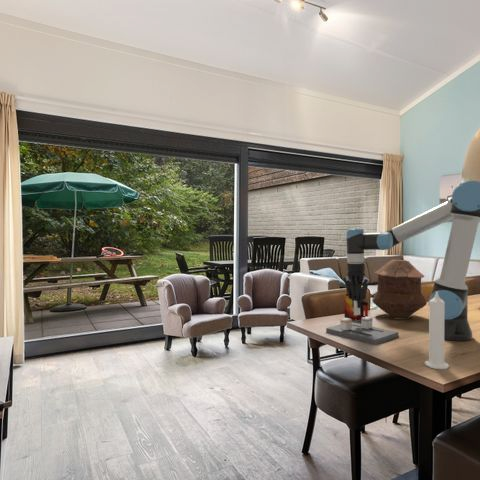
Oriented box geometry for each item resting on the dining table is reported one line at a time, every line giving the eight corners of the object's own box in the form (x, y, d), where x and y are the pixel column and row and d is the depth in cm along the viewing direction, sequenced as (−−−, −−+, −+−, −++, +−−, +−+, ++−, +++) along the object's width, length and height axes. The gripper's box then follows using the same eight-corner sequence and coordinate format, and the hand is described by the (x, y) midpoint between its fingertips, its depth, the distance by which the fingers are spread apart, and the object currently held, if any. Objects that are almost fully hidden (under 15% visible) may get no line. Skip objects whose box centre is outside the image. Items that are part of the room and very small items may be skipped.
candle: (440, 361, 130) (441, 289, 130) (453, 369, 123) (453, 292, 123) (420, 362, 130) (421, 289, 130) (431, 369, 123) (432, 293, 122)
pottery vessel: (363, 316, 199) (363, 259, 198) (387, 309, 216) (387, 257, 215) (412, 325, 180) (412, 262, 179) (434, 317, 197) (434, 259, 196)
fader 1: (351, 328, 166) (351, 318, 166) (346, 330, 163) (346, 320, 163) (345, 327, 168) (345, 317, 168) (340, 329, 166) (340, 319, 166)
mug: (367, 322, 187) (367, 298, 187) (341, 318, 196) (341, 295, 196) (374, 319, 194) (374, 295, 194) (349, 315, 203) (349, 292, 203)
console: (398, 336, 161) (398, 331, 161) (374, 344, 150) (374, 339, 150) (350, 326, 180) (350, 321, 180) (326, 332, 169) (326, 327, 169)
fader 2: (372, 327, 168) (372, 317, 168) (367, 329, 166) (367, 319, 165) (366, 326, 171) (366, 316, 170) (361, 327, 168) (361, 317, 168)
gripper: (373, 262, 169) (374, 315, 169) (348, 261, 179) (349, 311, 179) (363, 263, 164) (365, 318, 165) (338, 262, 175) (340, 313, 175)
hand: (357, 314), depth 172 cm, fingers closed
